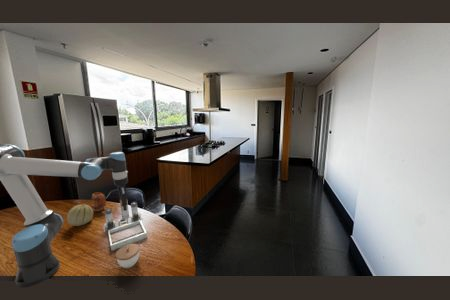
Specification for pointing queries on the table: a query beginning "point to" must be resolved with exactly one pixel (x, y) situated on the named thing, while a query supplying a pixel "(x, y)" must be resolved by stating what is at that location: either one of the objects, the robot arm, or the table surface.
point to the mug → (98, 201)
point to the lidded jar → (128, 255)
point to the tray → (129, 239)
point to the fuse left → (109, 217)
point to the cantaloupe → (80, 215)
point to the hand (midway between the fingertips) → (125, 212)
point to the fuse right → (134, 210)
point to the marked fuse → (122, 212)
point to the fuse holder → (121, 222)
